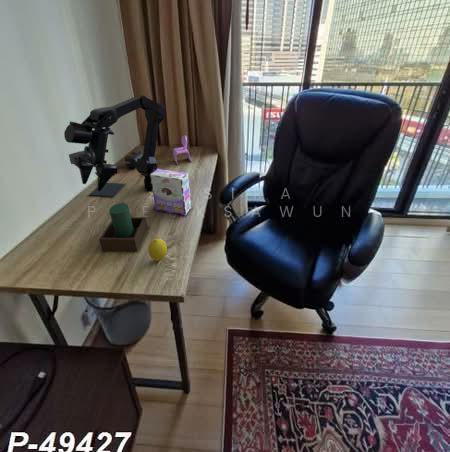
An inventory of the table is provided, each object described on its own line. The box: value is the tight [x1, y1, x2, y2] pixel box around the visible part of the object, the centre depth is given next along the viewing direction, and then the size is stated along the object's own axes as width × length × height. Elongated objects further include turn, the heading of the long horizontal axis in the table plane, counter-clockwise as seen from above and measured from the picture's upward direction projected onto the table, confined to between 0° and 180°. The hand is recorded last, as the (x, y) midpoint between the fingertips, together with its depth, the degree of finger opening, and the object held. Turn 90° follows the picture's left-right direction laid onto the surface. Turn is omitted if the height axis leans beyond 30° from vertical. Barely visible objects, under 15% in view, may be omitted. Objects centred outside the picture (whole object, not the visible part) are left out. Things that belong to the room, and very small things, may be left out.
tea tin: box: [108, 202, 135, 238], centre depth 84 cm, size 6×6×12 cm
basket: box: [98, 216, 149, 252], centre depth 86 cm, size 12×12×5 cm
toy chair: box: [172, 135, 193, 165], centre depth 140 cm, size 8×9×15 cm
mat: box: [89, 182, 125, 198], centre depth 116 cm, size 11×11×1 cm
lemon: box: [147, 238, 168, 262], centre depth 77 cm, size 6×6×8 cm
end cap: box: [124, 150, 143, 170], centre depth 138 cm, size 10×7×7 cm
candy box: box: [150, 168, 192, 216], centre depth 99 cm, size 14×6×16 cm, turn 71°
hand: (91, 187), depth 91 cm, fingers open, 9 cm apart
